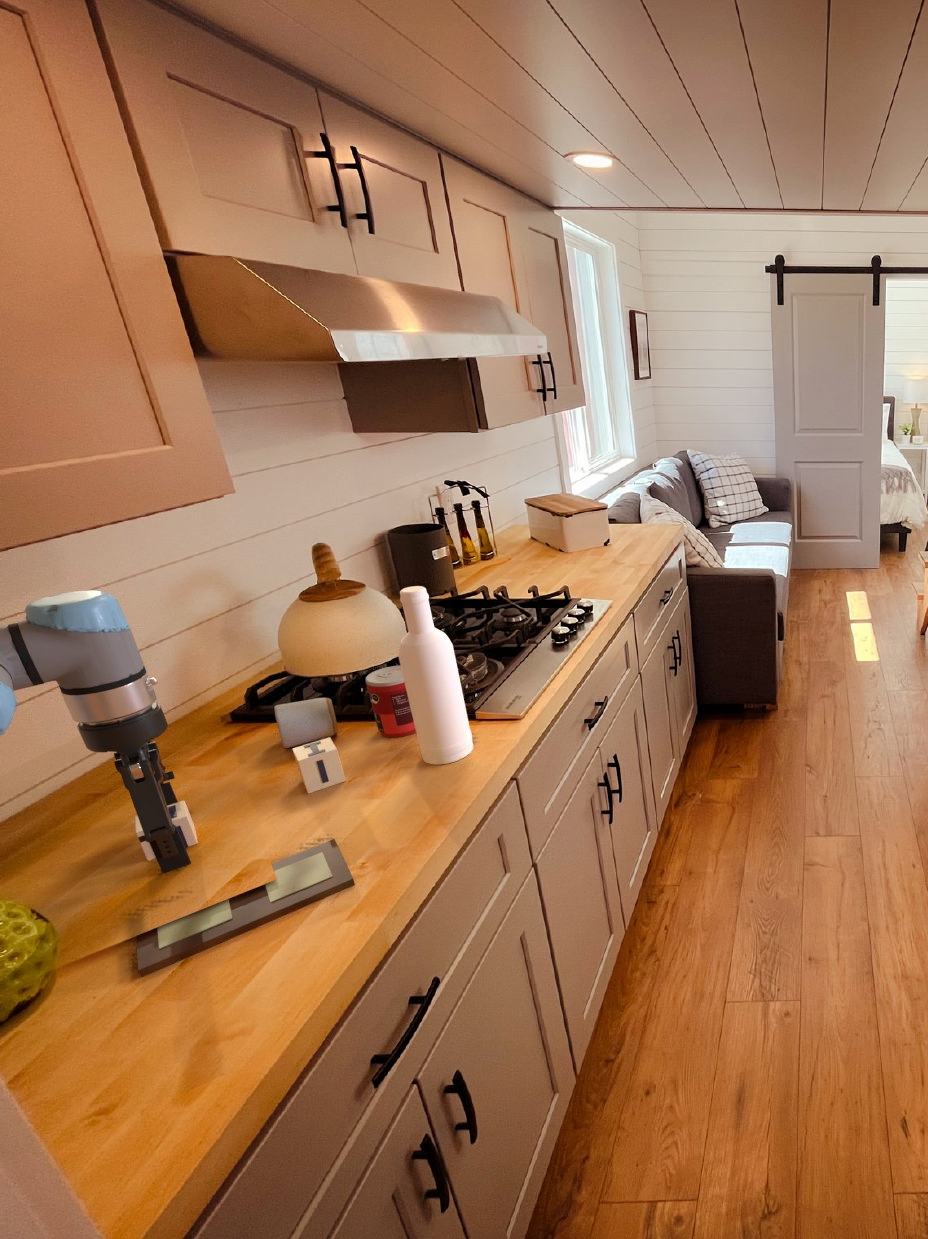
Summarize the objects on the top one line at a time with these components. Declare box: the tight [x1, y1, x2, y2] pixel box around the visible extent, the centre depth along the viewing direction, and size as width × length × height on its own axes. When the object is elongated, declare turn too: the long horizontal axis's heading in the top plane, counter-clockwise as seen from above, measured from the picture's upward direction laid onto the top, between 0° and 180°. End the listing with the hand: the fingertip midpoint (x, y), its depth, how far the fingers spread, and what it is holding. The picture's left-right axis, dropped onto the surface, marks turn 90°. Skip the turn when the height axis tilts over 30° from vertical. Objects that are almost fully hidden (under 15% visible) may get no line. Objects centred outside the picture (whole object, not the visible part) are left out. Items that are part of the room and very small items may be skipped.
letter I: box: [292, 736, 347, 795], centre depth 108 cm, size 5×5×6 cm
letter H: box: [134, 800, 199, 862], centre depth 92 cm, size 5×5×6 cm
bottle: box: [397, 585, 474, 766], centre depth 112 cm, size 8×8×30 cm
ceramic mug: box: [274, 697, 339, 749], centre depth 120 cm, size 11×8×8 cm
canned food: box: [365, 665, 416, 738], centre depth 123 cm, size 8×8×11 cm
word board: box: [135, 838, 356, 978], centre depth 84 cm, size 20×11×1 cm, turn 135°
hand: (175, 847), depth 93 cm, fingers open, 13 cm apart
